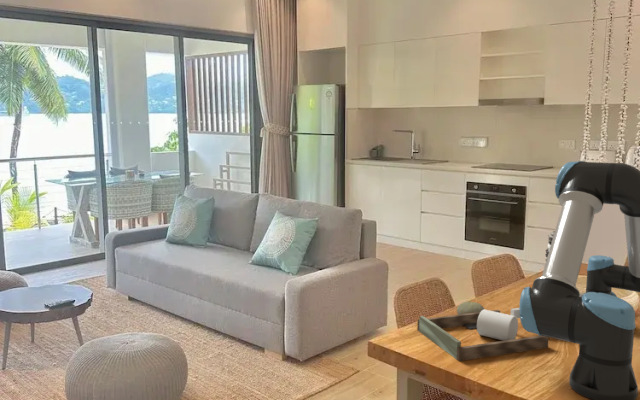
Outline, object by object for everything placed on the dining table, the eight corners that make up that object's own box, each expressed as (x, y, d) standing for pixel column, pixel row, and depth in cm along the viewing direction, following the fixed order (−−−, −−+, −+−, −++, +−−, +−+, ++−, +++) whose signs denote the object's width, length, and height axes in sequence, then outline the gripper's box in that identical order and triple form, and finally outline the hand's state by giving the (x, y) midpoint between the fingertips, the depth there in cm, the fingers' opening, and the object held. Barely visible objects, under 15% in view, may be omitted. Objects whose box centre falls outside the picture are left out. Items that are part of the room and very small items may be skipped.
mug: (507, 346, 166) (509, 320, 165) (476, 337, 173) (476, 313, 172) (522, 334, 176) (523, 309, 174) (491, 326, 182) (492, 303, 181)
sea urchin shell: (460, 304, 198) (476, 291, 194) (474, 322, 196) (491, 310, 192) (450, 311, 191) (467, 298, 187) (465, 330, 188) (483, 318, 184)
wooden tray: (497, 319, 188) (498, 305, 187) (548, 347, 165) (549, 331, 164) (417, 330, 179) (417, 315, 178) (458, 361, 156) (459, 343, 155)
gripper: (588, 324, 177) (525, 332, 170) (558, 310, 189) (498, 318, 182) (589, 301, 176) (526, 308, 169) (560, 289, 188) (499, 296, 181)
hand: (512, 313), depth 175 cm, fingers closed
